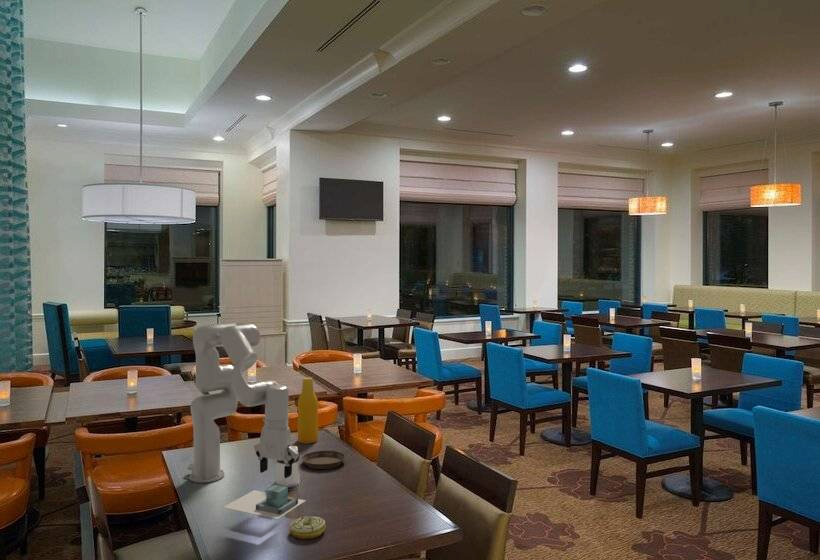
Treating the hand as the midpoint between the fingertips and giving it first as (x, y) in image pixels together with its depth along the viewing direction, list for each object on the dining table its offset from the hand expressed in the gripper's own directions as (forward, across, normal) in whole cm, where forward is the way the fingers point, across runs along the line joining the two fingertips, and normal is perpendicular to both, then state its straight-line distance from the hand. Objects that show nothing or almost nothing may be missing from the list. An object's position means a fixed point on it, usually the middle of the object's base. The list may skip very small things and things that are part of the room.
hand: (275, 473), depth 196 cm
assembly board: (+12, -4, 0) cm, 13 cm away
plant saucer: (+14, -10, +46) cm, 49 cm away
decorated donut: (+12, +19, -9) cm, 24 cm away
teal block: (+11, +1, 0) cm, 11 cm away
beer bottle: (+14, -33, +69) cm, 77 cm away
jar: (+13, -9, +20) cm, 25 cm away
